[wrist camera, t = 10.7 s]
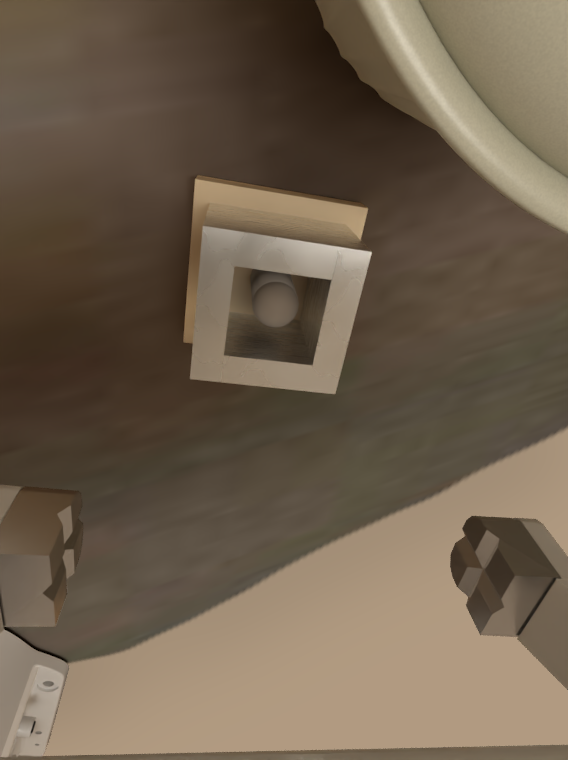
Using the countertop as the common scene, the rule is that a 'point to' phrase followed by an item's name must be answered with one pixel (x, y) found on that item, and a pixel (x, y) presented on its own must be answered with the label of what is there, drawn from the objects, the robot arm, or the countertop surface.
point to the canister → (473, 83)
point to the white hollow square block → (298, 338)
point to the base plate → (252, 286)
